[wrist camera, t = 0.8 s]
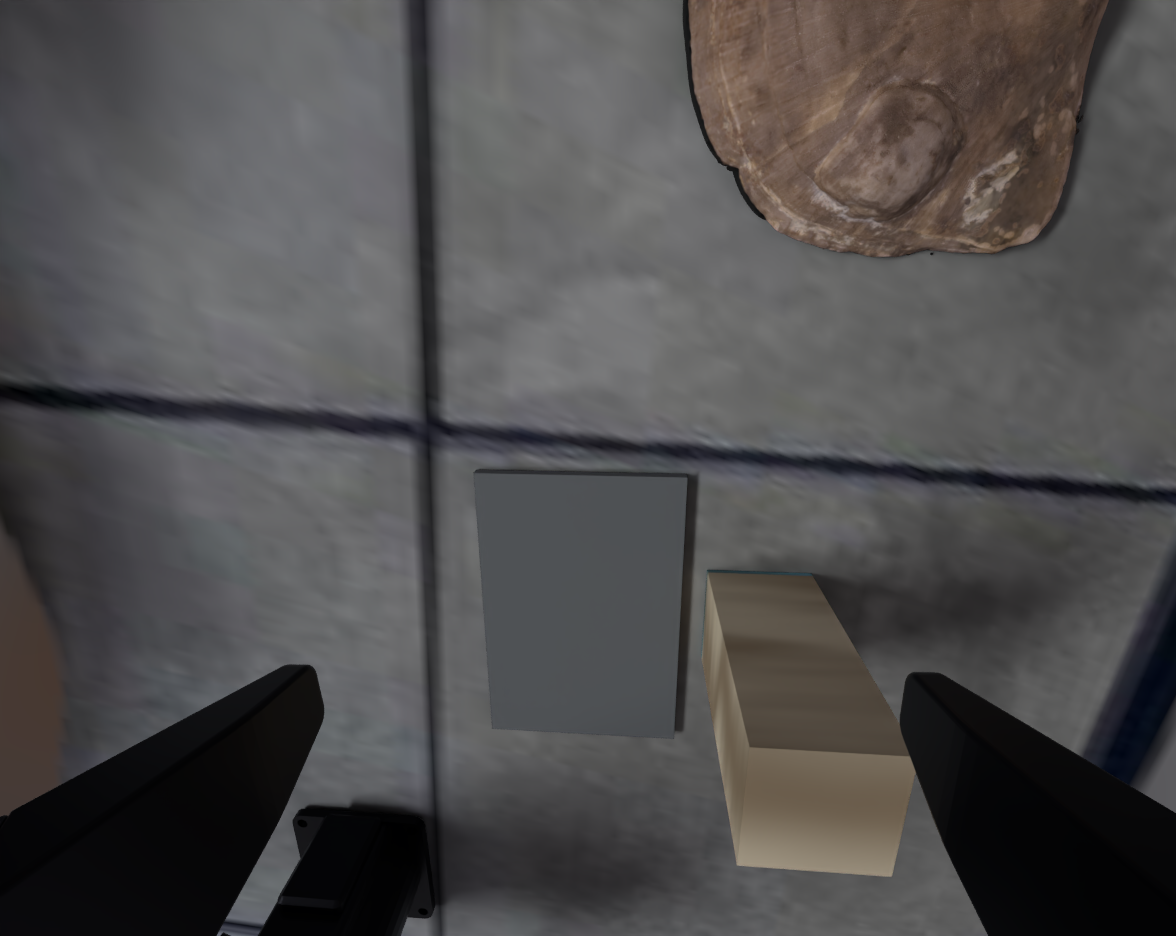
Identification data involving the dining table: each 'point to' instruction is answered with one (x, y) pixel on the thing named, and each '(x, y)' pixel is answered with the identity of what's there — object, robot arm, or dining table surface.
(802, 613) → the oak block
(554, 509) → the mat
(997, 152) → the shell
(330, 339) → the dining table surface
